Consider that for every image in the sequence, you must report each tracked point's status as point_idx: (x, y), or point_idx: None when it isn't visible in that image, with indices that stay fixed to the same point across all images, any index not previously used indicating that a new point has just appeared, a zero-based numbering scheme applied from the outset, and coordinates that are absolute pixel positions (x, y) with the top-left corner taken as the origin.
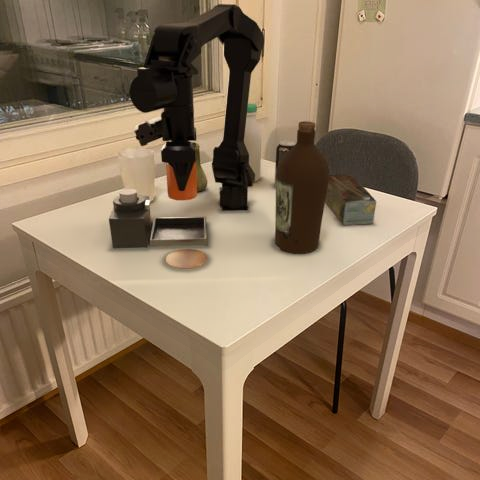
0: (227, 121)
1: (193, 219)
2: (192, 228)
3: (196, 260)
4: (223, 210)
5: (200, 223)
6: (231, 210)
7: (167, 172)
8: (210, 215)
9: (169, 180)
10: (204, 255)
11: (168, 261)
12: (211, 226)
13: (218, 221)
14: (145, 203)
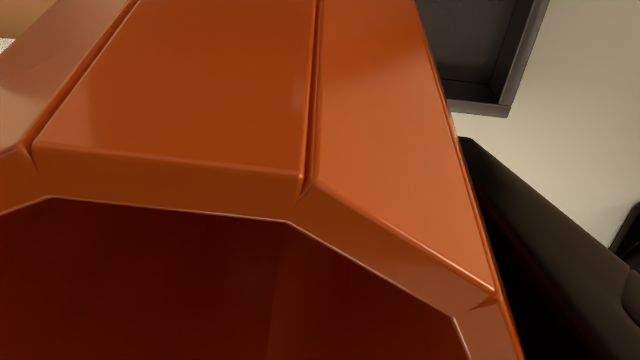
0: None
1: (516, 33)
2: (436, 3)
3: None
4: (637, 211)
5: (495, 64)
6: (615, 245)
7: (56, 43)
8: (622, 134)
9: (62, 9)
10: (28, 26)
11: None
12: (457, 116)
13: (514, 161)
14: None
